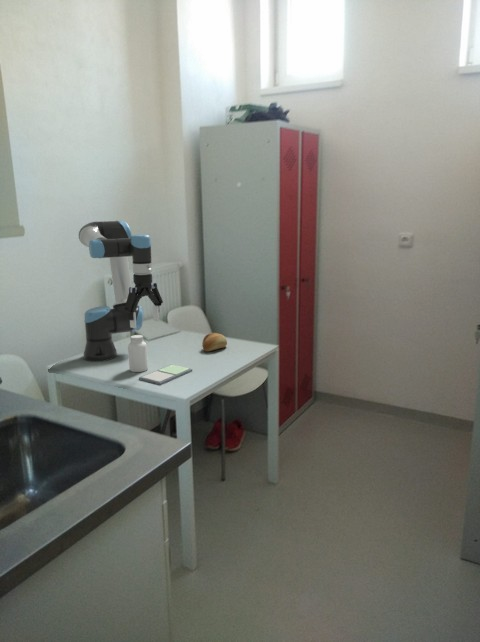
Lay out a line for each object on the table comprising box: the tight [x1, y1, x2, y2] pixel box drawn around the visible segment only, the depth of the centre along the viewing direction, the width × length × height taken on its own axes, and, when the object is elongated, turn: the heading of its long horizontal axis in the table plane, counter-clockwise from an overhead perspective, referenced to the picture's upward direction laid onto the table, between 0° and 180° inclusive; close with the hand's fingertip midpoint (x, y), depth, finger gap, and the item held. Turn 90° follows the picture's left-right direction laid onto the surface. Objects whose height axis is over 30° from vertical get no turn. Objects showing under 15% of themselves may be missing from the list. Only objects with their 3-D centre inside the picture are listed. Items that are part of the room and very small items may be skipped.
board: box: [138, 364, 193, 386], centre depth 213 cm, size 12×20×1 cm, turn 146°
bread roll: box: [201, 332, 228, 352], centre depth 249 cm, size 10×15×8 cm, turn 143°
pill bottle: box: [127, 334, 149, 373], centre depth 219 cm, size 8×8×15 cm
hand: (145, 324), depth 210 cm, fingers open, 13 cm apart
